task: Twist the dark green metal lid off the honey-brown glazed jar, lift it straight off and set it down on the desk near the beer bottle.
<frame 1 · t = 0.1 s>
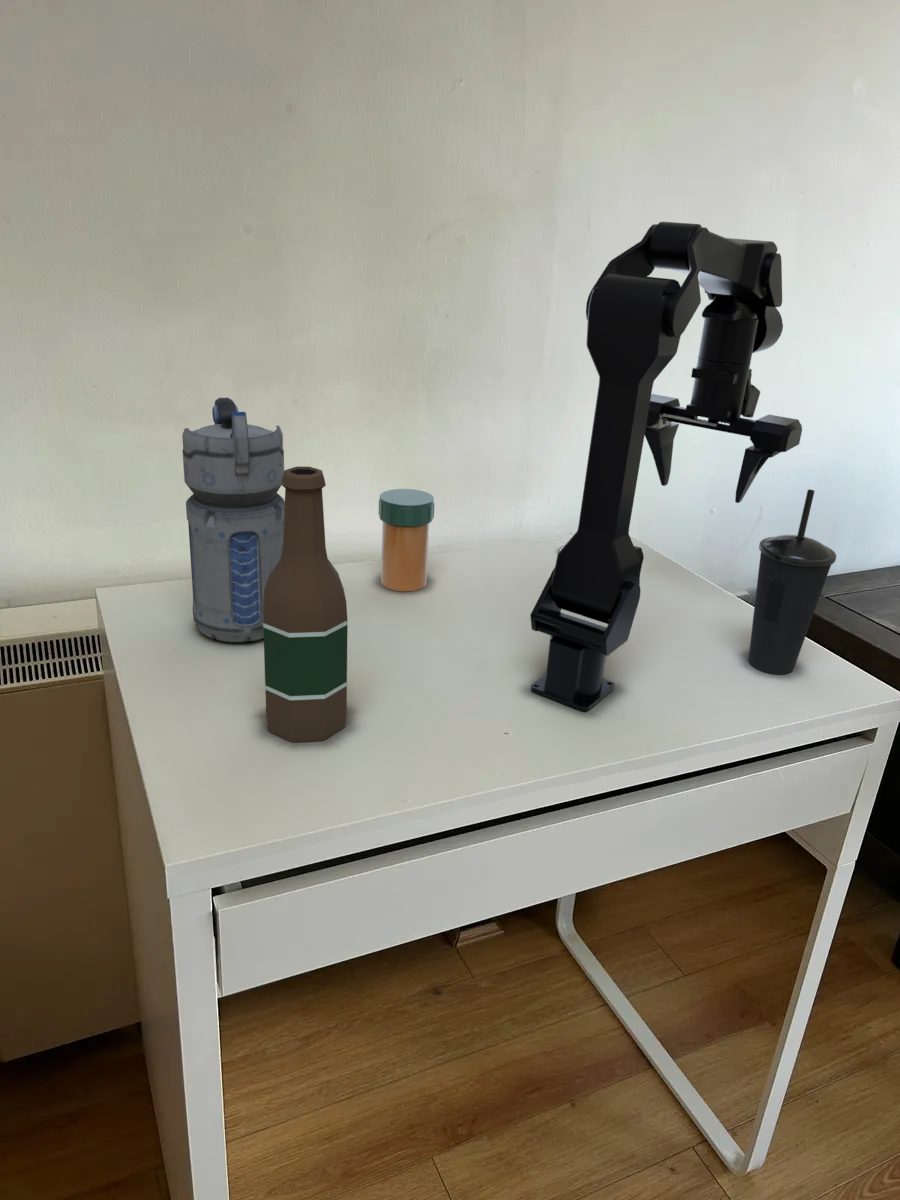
hand: (700, 493, 107), 15 cm above the table, tool pointing down, fingers open, 9 cm apart
drinking cup: (770, 665, 100), on the table
beer bottle: (306, 723, 83), on the table
lid: (406, 499, 110), point 11 cm above the table, screwed on, not yet turned
beverage bottle: (239, 625, 101), on the table
jar: (403, 582, 115), on the table
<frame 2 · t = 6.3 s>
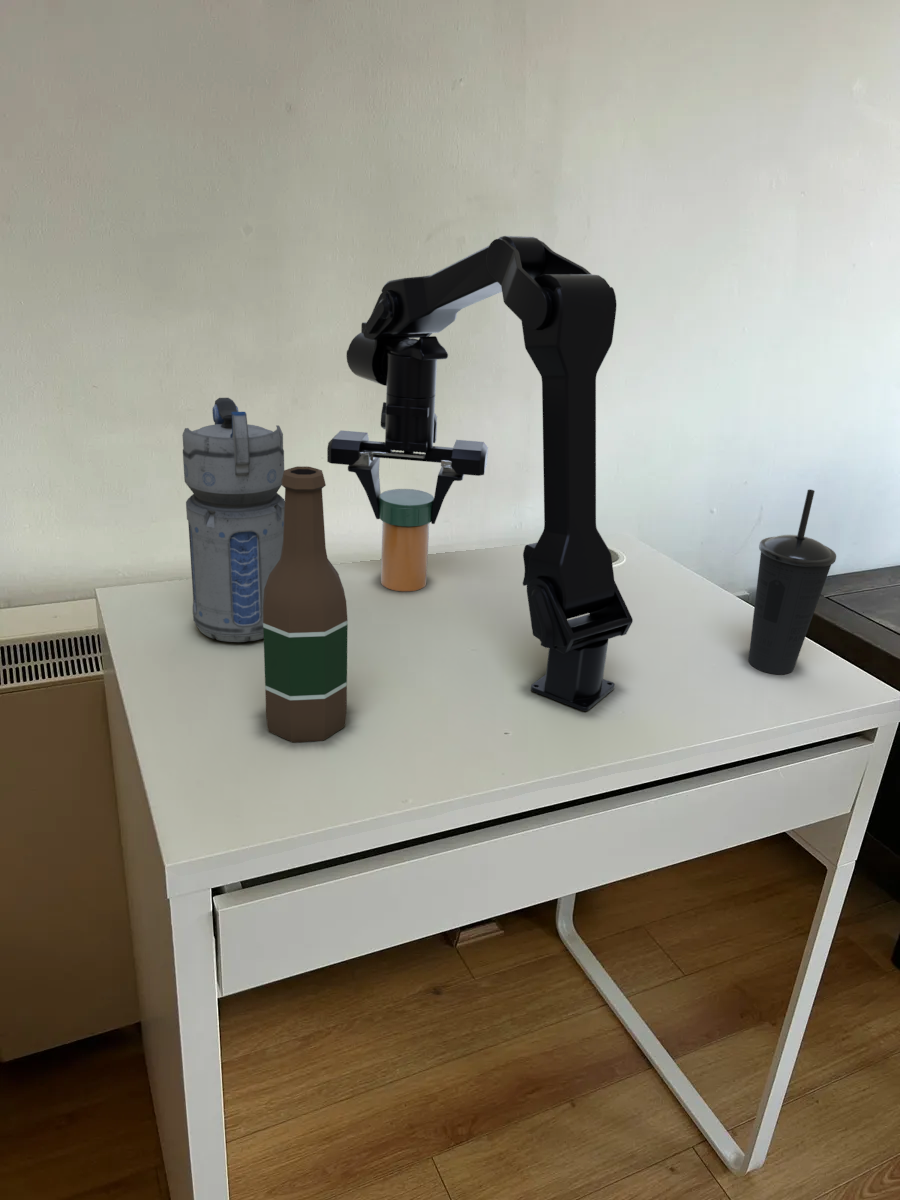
hand: (406, 520, 111), 8 cm above the table, tool pointing down, fingers closed on lid, 6 cm apart
lid: (406, 499, 110), point 11 cm above the table, screwed on, not yet turned, touching gripper
everything else where it was.
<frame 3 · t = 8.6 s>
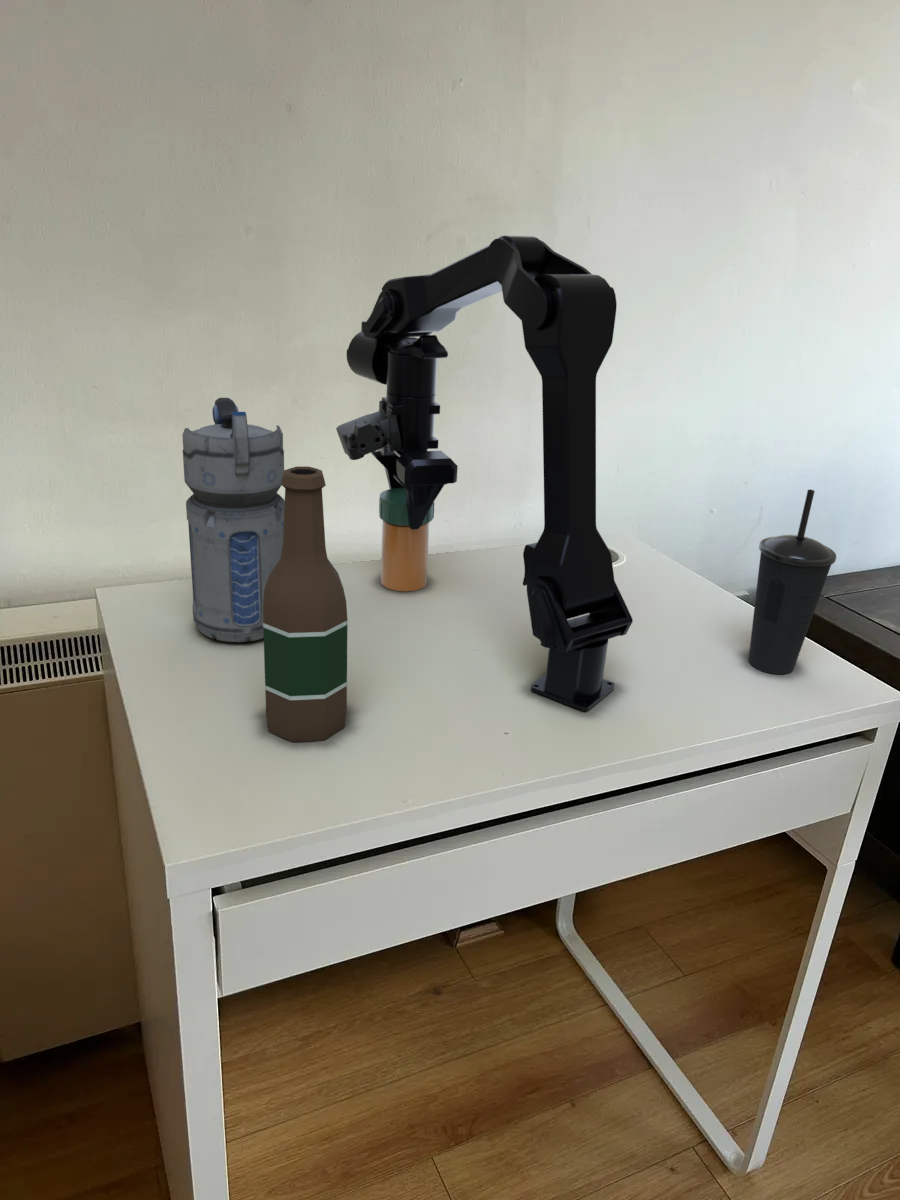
hand: (406, 519, 111), 8 cm above the table, tool pointing down, fingers closed on lid, 6 cm apart
lid: (406, 499, 110), point 11 cm above the table, off its thread, touching gripper
everything else where it was.
when the fingers open (0 cm above the table, at t = 16.6 s): lid stays where it is, point 2 cm above the table.
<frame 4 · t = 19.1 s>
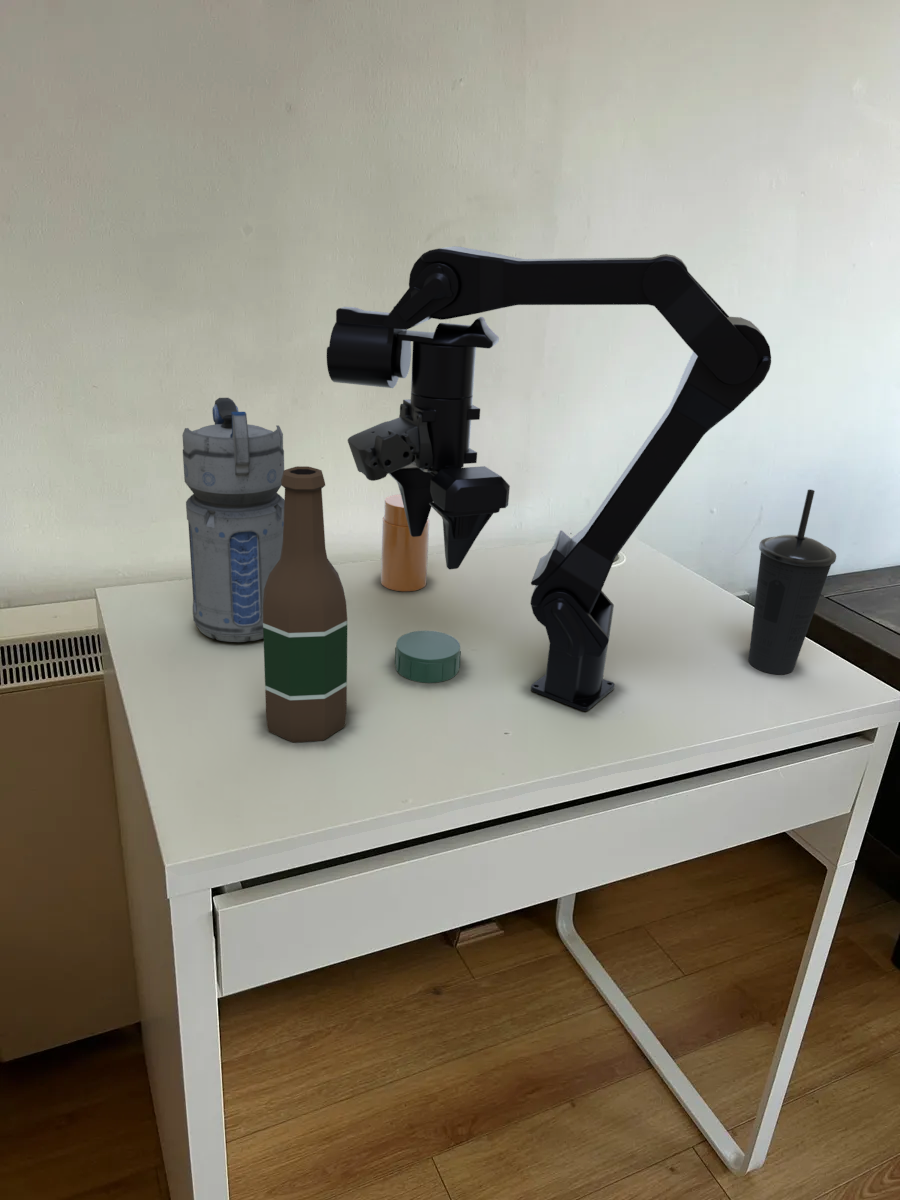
hand: (433, 551, 89), 13 cm above the table, tool pointing down, fingers open, 9 cm apart
lid: (428, 647, 93), point 2 cm above the table, off its thread
everything else where it was.
at the end: lid came off its thread; lid point 2.3 cm above the table; lid 16.1 cm from the beer bottle (horizontally) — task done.
